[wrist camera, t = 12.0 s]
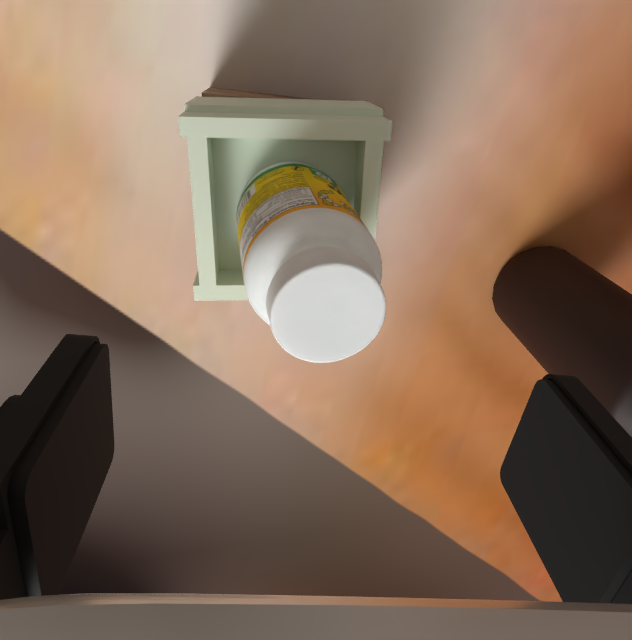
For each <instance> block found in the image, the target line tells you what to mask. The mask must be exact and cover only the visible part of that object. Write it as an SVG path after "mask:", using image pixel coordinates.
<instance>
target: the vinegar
mask: <svg viewBox="0 0 632 640" xmlns="http://www.w3.org/2000/svg"><path fill="white" fill-rule="evenodd" d="M492 299H493V303H494V307H495V311H496V313H497V314H498V316H499V317H500V318H501V320H502V321H503V322H504V323H505V325H506V326H507V327H508V328H509V329H510V330H511V331H512V333H513V334H514V335H515V336H516V337H517V338H518V339H519V340H520V342H521V343H522V344H523V345H524V346H525V347H526V348H527V350H528V351H529V352H530V353H531V354H532V355H533V356H534V358H535V359H536V360H537V361H538V362H539V363H540V364H541V366H542V367H543V368H544V369H545V370H546V371H547V372H548V373H549V374H558V375H571V376H575V377H577V378H578V379H579V380H580V381H581V382H582V383H583V385H584V386H585V387H586V388H587V389H588V390H589V391H590V392H591V393H592V394H593V395H594V397H595V398H596V399H597V400H598V401H599V402H600V403H601V404H602V405H603V406H604V408H605V409H606V410H607V411H608V412H609V413H610V414H611V415H612V416H613V417H614V418H615V420H616V421H617V422H618V423H619V424H620V425H621V426H622V427H623V428H624V429H625V431H626V432H627V433H628V434H629V435H630V436H631V437H632V294H630V293H629V292H627V291H626V290H624V289H623V288H621V287H620V286H618V285H617V284H615V283H614V282H612V281H610V280H609V279H607V278H606V277H604V276H603V275H601V274H600V273H598V272H597V271H595V270H594V269H592V268H591V267H589V266H588V265H586V264H585V263H583V262H582V261H580V260H579V259H577V258H576V257H574V256H573V255H571V254H570V253H568V252H567V251H565V250H563V249H559V248H555V247H550V246H549V247H536V248H533V249H531V250H528V251H525V252H523V253H521V254H519V255H518V256H517V257H515V258H514V259H512V260H511V261H510V262H509V263H508V264H507V265H506V266H505V267H504V269H503V270H502V271H501V272H500V273H499V276H498V278H497V280H496V282H495V284H494V289H493V297H492Z"/></svg>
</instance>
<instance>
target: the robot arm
mask: <svg viewBox="0 0 632 640" xmlns="http://www.w3.org/2000/svg"><path fill="white" fill-rule="evenodd" d="M113 454H114V431H113V414H112V396H111V379H110V362H109V348H108V345H107V344H100V342H99V339H98V337H97V336H86V335H75V334H67V335H65V337H64V338H63V339H62V340H61V342H60V343H59V344H58V346H57V347H56V348H55V350H54V351H53V353H52V354H51V355H50V357H49V358H48V359H47V361H46V362H45V364H44V365H43V366H42V367H41V369H40V370H39V371H38V373H37V374H36V375H35V377H34V378H33V380H32V381H31V382H30V384H29V385H28V386H27V388H26V389H25V391H24V392H23V393H22V394H21V395H13V396H11V397H9V398H8V399H7V400H6V401H5V402H4V403H3V405H2V406H1V407H0V640H632V437H631V436H630V435H629V434H628V433H627V432H626V431H625V429H624V428H623V427H622V426H621V425H620V424H619V423H618V422H617V421H616V420H615V418H614V417H613V416H612V415H611V414H610V413H609V412H608V411H607V410H606V409H605V408H604V406H603V405H602V404H601V403H600V402H599V401H598V400H597V399H596V398H595V397H594V395H593V394H592V393H591V392H590V391H589V390H588V389H587V388H586V387H585V386H584V385H583V383H582V382H581V381H580V380H579V379H578V378H577V377H575V376H571V375H558V374H547V375H546V376H545V377H543V379H541V380H538V381H537V382H536V384H535V386H534V388H533V391H532V393H531V395H530V398H529V400H528V403H527V405H526V408H525V410H524V413H523V415H522V417H521V420H520V422H519V425H518V427H517V430H516V432H515V435H514V437H513V439H512V442H511V444H510V447H509V449H508V452H507V454H506V457H505V459H504V461H503V464H502V466H501V471H500V478H501V482H502V485H503V487H504V488H505V490H506V492H507V494H508V496H509V498H510V500H511V502H512V504H513V506H514V508H515V510H516V512H517V514H518V516H519V517H520V519H521V521H522V523H523V525H524V527H525V529H526V531H527V533H528V535H529V537H530V539H531V541H532V543H533V545H534V546H535V548H536V550H537V552H538V554H539V556H540V558H541V560H542V562H543V564H544V566H545V568H546V570H547V572H548V573H549V575H550V577H551V579H552V581H553V583H554V585H555V587H556V589H557V591H558V593H559V595H560V597H561V599H562V601H563V602H543V601H508V600H507V601H506V600H471V599H469V600H467V599H427V598H385V597H384V598H382V597H338V596H285V595H224V594H70V595H59V593H60V590H61V588H62V585H63V583H64V580H65V578H66V575H67V573H68V570H69V568H70V565H71V563H72V560H73V558H74V555H75V553H76V550H77V547H78V545H79V543H80V540H81V538H82V535H83V533H84V530H85V528H86V525H87V523H88V520H89V518H90V515H91V513H92V510H93V508H94V505H95V503H96V500H97V497H98V495H99V493H100V490H101V487H102V485H103V483H104V480H105V477H106V475H107V473H108V470H109V467H110V465H111V462H112V459H113Z"/></svg>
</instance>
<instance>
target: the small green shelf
mask: <svg viewBox="0 0 632 640" xmlns="http://www.w3.org/2000/svg"><path fill="white" fill-rule="evenodd" d="M184 106H185V112H184V113H182V114H181V115H180V116H178V121H179V132H180V137H187V143H188V155H189V167H190V179H191V191H192V203H193V216H194V228H195V240H196V252H197V264H198V272H197V275H196V278H195V281H194V284H193V290H194V301H214V300H249V299H248V297H247V294H246V290H245V286H244V280H243V273H242V265H241V256H240V248H239V242H238V235H237V228H236V208H237V204H238V200H239V197H240V195H241V193H242V191H243V189H244V187H245V186H246V185H247V183H248V182H249V181H250V180H251V179H252V178H253V177H254V176H255V175H256V174H257V173H258V172H260V171H261V170H263V169H265V168H267V167H269V166H271V165H274V164H277V163H280V162H286V161H298V162H302V163H306V164H309V165H312V166H314V167H316V168H318V169H319V170H321V171H323V172H324V173H326V174H327V175H328V176H330V177H331V178H332V179H333V181H334V182H335V183H336V184H337V185H338V187H339V188H340V189H341V191H342V193H343V194H344V196H345V197H346V198H347V200H348V201H349V203H350V204H351V206H352V207H353V209H354V210H355V212H356V213H357V215H358V216H359V217H360V219H361V220H362V222H363V223H364V224H365V226H366V227H367V229H368V230H369V232H370V233H371V235H372V236H373V238H374V240H375V236H376V225H377V214H378V203H379V191H380V180H381V169H382V158H383V146H384V141H391V133H392V123H393V122H392V121H391V120H389V119H387V118H385V117H383V112H384V109H382V108H380V107H378V106H376V105H374V104H372V103H370V102H368V101H348V100H311V99H274V98H236V97H199V96H196V97H195V98H193V99H192V100H190V101H189V102H187V103H186V104H184Z"/></svg>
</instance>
